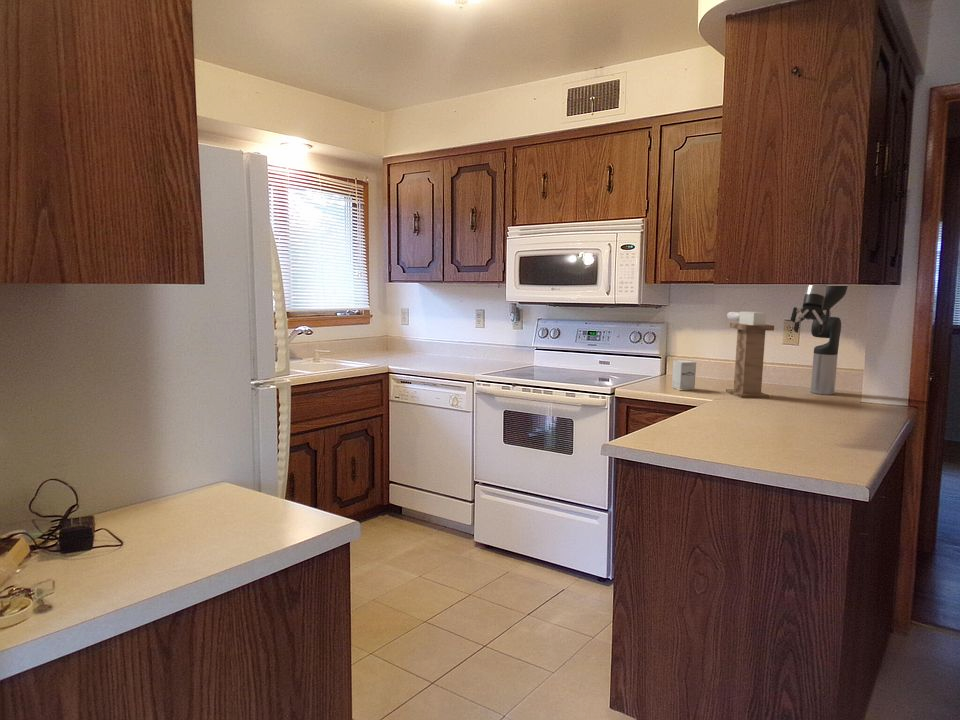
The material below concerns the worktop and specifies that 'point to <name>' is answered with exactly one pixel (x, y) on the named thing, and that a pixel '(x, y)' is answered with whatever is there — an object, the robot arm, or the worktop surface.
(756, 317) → the white square bar
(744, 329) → the brown pedestal
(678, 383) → the supplement box
